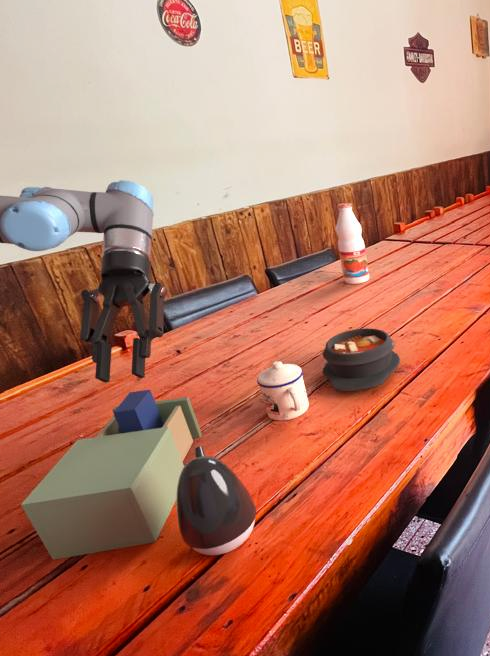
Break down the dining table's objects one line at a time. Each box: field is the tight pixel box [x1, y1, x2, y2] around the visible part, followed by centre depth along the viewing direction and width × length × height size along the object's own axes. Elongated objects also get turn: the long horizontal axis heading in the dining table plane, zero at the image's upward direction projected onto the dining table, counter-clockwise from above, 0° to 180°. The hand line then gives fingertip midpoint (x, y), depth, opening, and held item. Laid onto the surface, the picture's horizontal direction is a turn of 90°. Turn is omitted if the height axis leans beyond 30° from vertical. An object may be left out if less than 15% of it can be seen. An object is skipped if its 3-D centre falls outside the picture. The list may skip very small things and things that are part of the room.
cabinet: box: [20, 427, 185, 560], centre depth 82 cm, size 16×14×11 cm
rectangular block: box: [112, 389, 164, 433], centre depth 93 cm, size 4×7×12 cm, turn 11°
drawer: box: [95, 396, 203, 463], centre depth 95 cm, size 19×13×9 cm
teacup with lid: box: [256, 360, 310, 421], centre depth 107 cm, size 12×9×12 cm
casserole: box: [322, 327, 401, 392], centre depth 123 cm, size 25×19×8 cm
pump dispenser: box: [176, 445, 257, 556], centre depth 75 cm, size 10×10×15 cm
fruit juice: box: [335, 202, 370, 285], centre depth 185 cm, size 9×9×28 cm
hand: (120, 377), depth 88 cm, fingers open, 5 cm apart
